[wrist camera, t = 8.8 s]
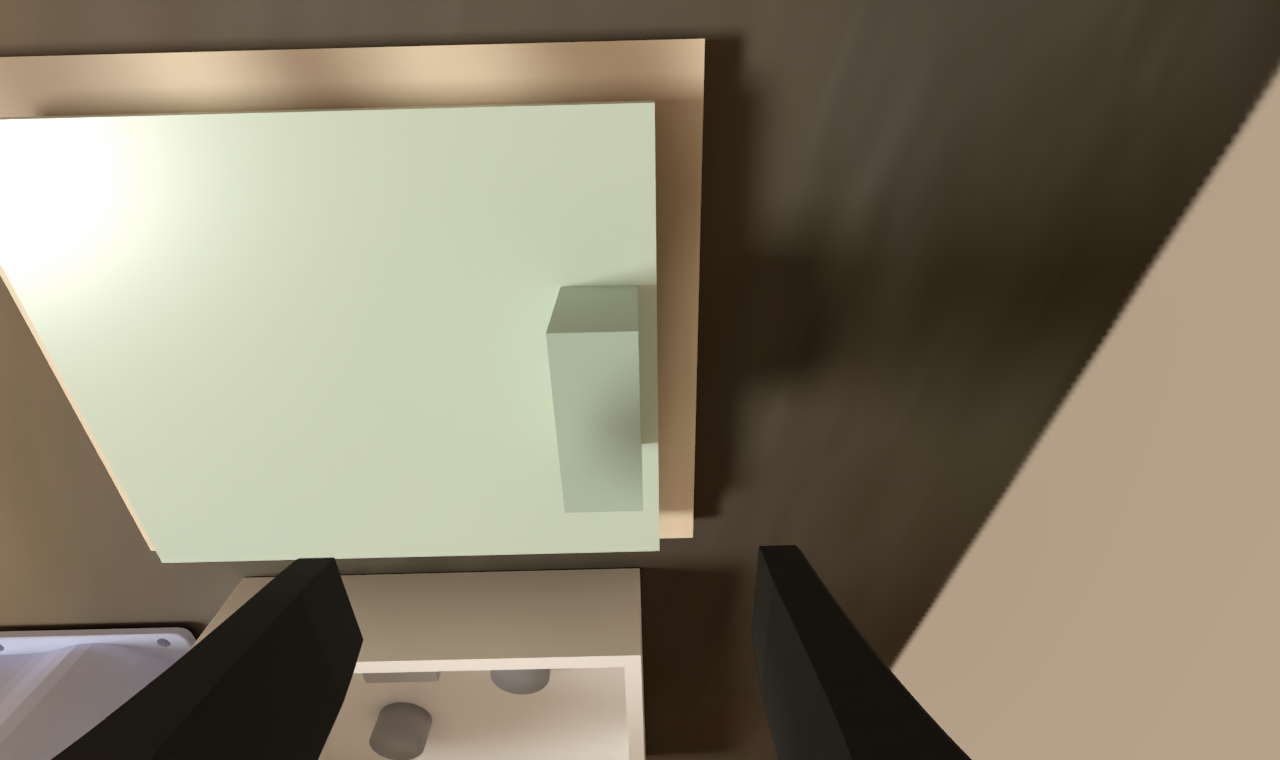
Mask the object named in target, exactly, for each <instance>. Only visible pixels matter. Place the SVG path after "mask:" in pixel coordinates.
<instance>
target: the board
mask: <svg viewBox="0 0 1280 760" xmlns="http://www.w3.org/2000/svg"><path fill="white" fill-rule="evenodd" d="M704 58H705V39H671V40H633V41H596V42H558V43H520V44H482V45H444V46H406V47H368V48H330V49H292V50H254V51H216V52H178V53H140V54H102V55H64V56H26V57H0V117H32V116H71V115H109V114H147V113H186V112H224V111H263V110H301V109H339V108H378V107H416V106H455V105H493V104H531V103H570V102H608V101H647V100H654V102H655V177H656V272H657V368H658V463H659V538H693V509H694V468H695V427H696V386H697V345H698V304H699V263H700V222H701V181H702V140H703V99H704ZM0 275H1V277H2V279H3V281H4V283H5V284H6V286H7V288H8V290H9V292H10V293H11V295H12V297H13V299H14V301H15V303H16V304H17V306H18V308H19V310H20V312H21V314H22V315H23V317H24V319H25V321H26V323H27V325H28V326H29V328H30V330H31V332H32V334H33V336H34V337H35V339H36V341H37V343H38V345H39V347H40V348H41V350H42V352H43V354H44V356H45V357H46V359H47V361H48V363H49V365H50V367H51V368H52V370H53V372H54V374H55V376H56V378H57V379H58V381H59V383H60V385H61V387H62V389H63V390H64V392H65V394H66V396H67V398H68V400H69V401H70V403H71V405H72V407H73V409H74V411H75V412H76V414H77V416H78V418H79V420H80V422H81V423H82V425H83V427H84V429H85V431H86V432H87V434H88V436H89V438H90V440H91V442H92V443H93V445H94V447H95V449H96V451H97V453H98V454H99V456H100V458H101V460H102V462H103V464H104V465H105V467H106V469H107V471H108V473H109V475H110V476H111V478H112V480H113V482H114V484H115V486H116V487H117V489H118V491H119V493H120V495H121V496H122V498H123V500H124V502H125V504H126V506H127V507H128V509H129V511H130V513H131V515H132V517H133V518H134V520H135V522H136V524H137V526H138V528H139V529H140V531H141V533H142V535H143V537H144V539H145V540H146V542H147V544H148V546H149V548H150V550H151V551H156V550H155V548H154V546H153V545H152V543H151V541H150V539H149V537H148V535H147V534H146V532H145V530H144V528H143V526H142V524H141V522H140V521H139V519H138V517H137V515H136V513H135V511H134V510H133V508H132V506H131V504H130V502H129V500H128V498H127V497H126V495H125V493H124V491H123V489H122V487H121V486H120V484H119V482H118V480H117V478H116V476H115V474H114V473H113V471H112V469H111V467H110V465H109V463H108V462H107V460H106V458H105V456H104V454H103V452H102V450H101V449H100V447H99V445H98V443H97V441H96V439H95V438H94V436H93V434H92V432H91V430H90V428H89V426H88V425H87V423H86V421H85V419H84V417H83V415H82V414H81V412H80V410H79V408H78V406H77V404H76V402H75V401H74V399H73V397H72V395H71V393H70V391H69V390H68V388H67V386H66V384H65V382H64V380H63V378H62V377H61V375H60V373H59V371H58V369H57V367H56V366H55V364H54V362H53V360H52V358H51V356H50V354H49V353H48V351H47V349H46V347H45V345H44V343H43V342H42V340H41V338H40V336H39V334H38V332H37V330H36V329H35V327H34V325H33V323H32V321H31V319H30V318H29V316H28V314H27V312H26V310H25V308H24V306H23V305H22V303H21V301H20V299H19V297H18V295H17V294H16V292H15V290H14V288H13V286H12V284H11V283H10V281H9V279H8V277H7V275H6V273H5V271H4V270H3V268H2V266H1V264H0Z"/></svg>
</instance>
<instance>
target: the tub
mask: <svg viewBox="0 0 1280 760" xmlns="http://www.w3.org/2000/svg"><path fill="white" fill-rule="evenodd" d="M274 578H275V577H254V578H243V579H242V580H241V582H240V583H239V584H238V586H237V587H236V588H235V590H234V591H233V592H232V594H231V595H230V596H229V598H228V599H227V600H226V602H225V603H224V604H223V606H222V607H221V608H220V610H219V611H218V612H217V614H216V615H215V616H214V618H213V619H212V620H211V622H210V623H209V624H208V626H207V627H206V628H205V630H204V631H203V632H202V634H201V635H200V636H199V638H198V639H197V640H196V642H195V643H194V644H193V646H192V647H191V648H190V650H191V649H192V648H193V647H194V646H195V645H196V644H198V643H199V642H200V641H201V640H202V639H204V638H205V637H206V636H207V635H208V634H209V633H211V632H212V631H213V630H214V629H215V628H217V627H218V626H219V625H220V624H221V623H222V622H224V621H225V620H226V619H227V618H228V617H229V616H231V615H232V614H233V613H234V612H235V611H236V610H238V609H239V608H240V607H241V606H242V605H243V604H245V603H246V602H247V601H248V600H249V599H250V598H252V597H253V596H254V595H255V594H256V593H257V592H259V591H260V590H261V589H262V588H263V587H264V586H266V585H267V584H268V583H269V582H270V581H271V580H273V579H274ZM341 578H342V581H343V584H344V587H345V589H346V592H347V595H348V598H349V601H350V603H351V606H352V609H353V612H354V614H355V617H356V620H357V623H358V626H359V628H360V631H361V634H362V637H363V643H362V646H361V649H360V653H359V656H358V659H357V663H356V666H355V669H354V673H353V676H352V679H351V682H350V685H349V688H348V691H347V694H346V697H345V700H344V702H343V705H342V707H341V709H340V712H339V714H338V716H337V718H336V721H335V723H334V725H333V727H332V730H331V732H330V734H329V736H328V739H327V741H326V743H325V745H324V748H323V750H322V752H321V754H320V756H319V759H318V760H646V746H645V715H644V683H643V652H642V620H641V589H640V568H628V569H586V570H545V571H503V572H461V573H420V574H378V575H341Z"/></svg>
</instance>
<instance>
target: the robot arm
mask: <svg viewBox="0 0 1280 760" xmlns="http://www.w3.org/2000/svg"><path fill="white" fill-rule="evenodd" d="M751 630H752V636H753V643H754V650H755V657H756V663H757V670H758V676H759V682H760V688H761V693H762V697H763V701H764V705H765V709H766V713H767V717H768V721H769V725H770V728H771V732H772V736H773V740H774V744H775V748H776V752H777V755H778V759H779V760H971V759H970V758H969V756H968V755H967V754H965V753H964V751H963V750H961V748H960V747H959V746H958V745H957V744H956V743H955V742H954V741H953V740H952V739H951V738H950V737H949V736H948V735H947V734H946V733H945V732H944V730H943V729H942V728H941V727H940V726H939V725H938V724H937V723H936V722H935V721H934V720H933V719H932V717H931V716H930V715H929V714H928V713H927V712H926V711H925V710H924V709H923V708H922V706H921V705H920V704H919V703H918V702H917V701H916V700H915V698H914V697H913V696H912V695H911V694H910V693H909V692H908V690H907V689H906V688H905V687H904V686H903V685H902V684H901V682H900V681H899V680H898V679H897V678H896V677H895V675H894V674H893V673H892V672H891V670H890V669H889V668H888V667H887V666H886V664H885V663H884V662H883V661H882V660H881V658H880V657H879V656H878V655H877V653H876V652H875V651H874V650H873V648H872V647H871V646H870V645H869V643H868V642H867V641H866V640H865V638H864V637H863V636H862V635H861V633H860V632H859V631H858V630H857V628H856V627H855V626H854V624H853V623H852V622H851V620H850V619H849V618H848V617H847V615H846V614H845V613H844V611H843V610H842V608H841V607H840V606H839V604H838V603H837V602H836V600H835V599H834V598H833V596H832V595H831V594H830V592H829V591H828V589H827V588H826V587H825V585H824V584H823V582H822V581H821V579H820V578H819V577H818V575H817V574H816V572H815V571H814V569H813V568H812V566H811V565H810V563H809V562H808V560H807V559H806V557H805V556H804V554H803V553H802V551H801V550H800V549H799V548H798V547H797V546H796V545H782V546H759V552H758V563H757V574H756V585H755V596H754V607H753V618H752V629H751ZM195 642H196V640H195V638H194V636H193V634H192V633H191V632H190V631H189V630H187V629H184V628H180V627H169V628H127V629H85V630H43V631H1V632H0V760H318V759H319V756H320V754H321V752H322V750H323V748H324V745H325V743H326V741H327V739H328V736H329V734H330V732H331V730H332V727H333V725H334V723H335V721H336V718H337V716H338V714H339V712H340V709H341V707H342V705H343V702H344V700H345V697H346V694H347V691H348V688H349V685H350V682H351V679H352V676H353V673H354V669H355V666H356V663H357V659H358V656H359V653H360V649H361V646H362V643H363V637H362V634H361V631H360V628H359V626H358V623H357V620H356V617H355V614H354V612H353V609H352V606H351V603H350V601H349V598H348V595H347V592H346V589H345V587H344V584H343V581H342V578H341V575H340V573H339V570H338V567H337V564H336V561H335V559H334V557H331V558H298V559H297V560H296V561H294V562H293V563H292V564H291V565H289V566H288V567H287V568H286V569H285V570H283V571H282V572H281V573H280V574H278V575H277V576H276V577H275V578H274V579H273V580H271V581H270V582H269V583H268V584H267V585H266V586H264V587H263V588H262V589H261V590H260V591H259V592H257V593H256V594H255V595H254V596H253V597H252V598H250V599H249V600H248V601H247V602H246V603H245V604H243V605H242V606H241V607H240V608H239V609H238V610H236V611H235V612H234V613H233V614H232V615H231V616H229V617H228V618H227V619H226V620H225V621H224V622H222V623H221V624H220V625H219V626H218V627H217V628H215V629H214V630H213V631H212V632H211V633H209V634H208V635H207V636H206V637H205V638H204V639H202V640H201V641H200V642H199V643H198V644H196V645H195V646H194V647H193V648H192V649H191V650H190V648H191V647H192V646H193V644H194V643H195Z"/></svg>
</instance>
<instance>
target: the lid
mask: <svg viewBox="0 0 1280 760" xmlns="http://www.w3.org/2000/svg"><path fill="white" fill-rule="evenodd" d="M0 264H1V266H2V268H3V270H4V271H5V273H6V275H7V277H8V279H9V281H10V283H11V284H12V286H13V288H14V290H15V292H16V294H17V295H18V297H19V299H20V301H21V303H22V305H23V306H24V308H25V310H26V312H27V314H28V316H29V318H30V319H31V321H32V323H33V325H34V327H35V329H36V330H37V332H38V334H39V336H40V338H41V340H42V342H43V343H44V345H45V347H46V349H47V351H48V353H49V354H50V356H51V358H52V360H53V362H54V364H55V366H56V367H57V369H58V371H59V373H60V375H61V377H62V378H63V380H64V382H65V384H66V386H67V388H68V390H69V391H70V393H71V395H72V397H73V399H74V401H75V402H76V404H77V406H78V408H79V410H80V412H81V414H82V415H83V417H84V419H85V421H86V423H87V425H88V426H89V428H90V430H91V432H92V434H93V436H94V438H95V439H96V441H97V443H98V445H99V447H100V449H101V450H102V452H103V454H104V456H105V458H106V460H107V462H108V463H109V465H110V467H111V469H112V471H113V473H114V474H115V476H116V478H117V480H118V482H119V484H120V486H121V487H122V489H123V491H124V493H125V495H126V497H127V498H128V500H129V502H130V504H131V506H132V508H133V510H134V511H135V513H136V515H137V517H138V519H139V521H140V522H141V524H142V526H143V528H144V530H145V532H146V534H147V535H148V537H149V539H150V541H151V543H152V545H153V546H154V548H155V550H156V552H157V554H158V556H159V557H160V559H161V561H162V563H178V562H219V561H261V560H297V559H298V558H331V557H334V559H344V558H385V557H427V556H468V555H510V554H551V553H593V552H634V551H659V463H658V368H657V272H656V177H655V102H654V100H647V101H608V102H570V103H531V104H493V105H455V106H416V107H378V108H339V109H301V110H263V111H224V112H186V113H147V114H109V115H71V116H32V117H0Z"/></svg>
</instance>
